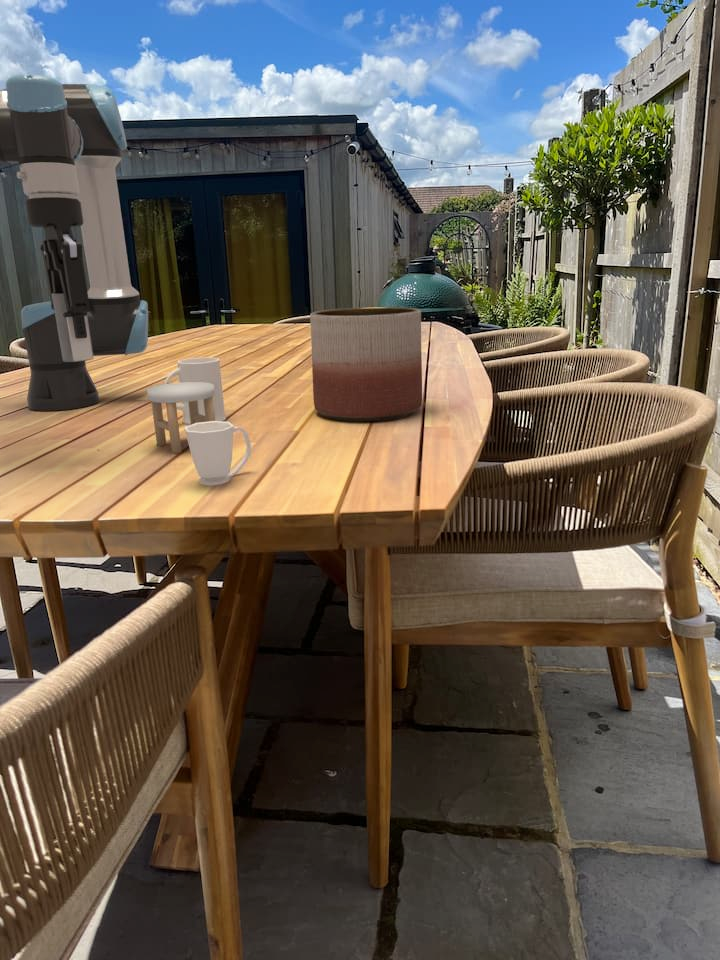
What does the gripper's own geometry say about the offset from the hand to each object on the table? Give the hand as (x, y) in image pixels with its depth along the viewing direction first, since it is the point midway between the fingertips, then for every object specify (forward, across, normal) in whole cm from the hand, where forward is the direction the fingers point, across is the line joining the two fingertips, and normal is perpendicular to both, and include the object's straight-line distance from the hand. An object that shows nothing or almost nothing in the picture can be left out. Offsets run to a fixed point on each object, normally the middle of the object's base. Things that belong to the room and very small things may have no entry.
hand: (78, 357), depth 107 cm
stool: (+16, +3, +15) cm, 22 cm away
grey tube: (0, 0, 0) cm, 0 cm away
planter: (+17, +4, +54) cm, 57 cm away
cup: (+16, +25, +11) cm, 32 cm away
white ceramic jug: (+17, -13, +24) cm, 32 cm away
